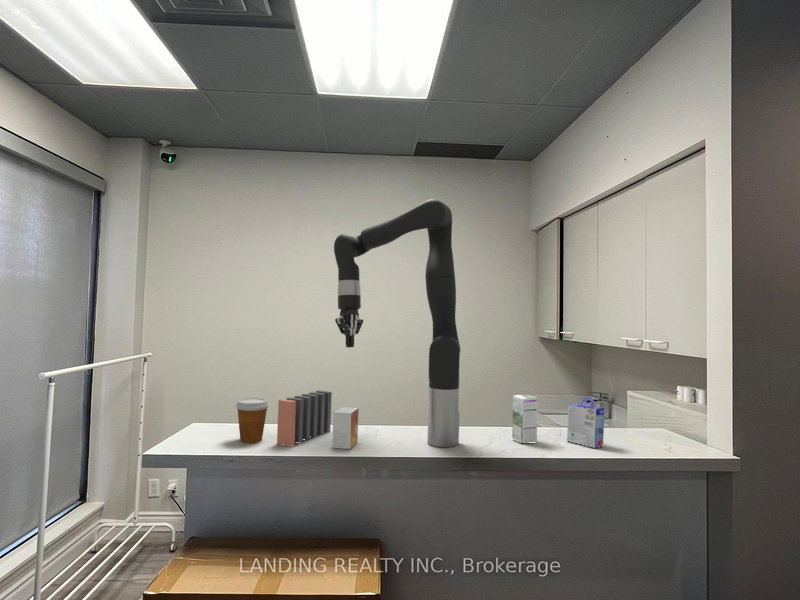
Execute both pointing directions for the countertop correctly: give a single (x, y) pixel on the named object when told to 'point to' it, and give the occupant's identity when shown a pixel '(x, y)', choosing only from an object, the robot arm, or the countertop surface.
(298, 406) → the domino
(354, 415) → the small box
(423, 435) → the countertop surface
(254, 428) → the disposable coffee cup
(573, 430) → the ink cartridge box
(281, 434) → the domino
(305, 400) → the domino
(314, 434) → the domino
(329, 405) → the domino
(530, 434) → the syrup box
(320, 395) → the domino
